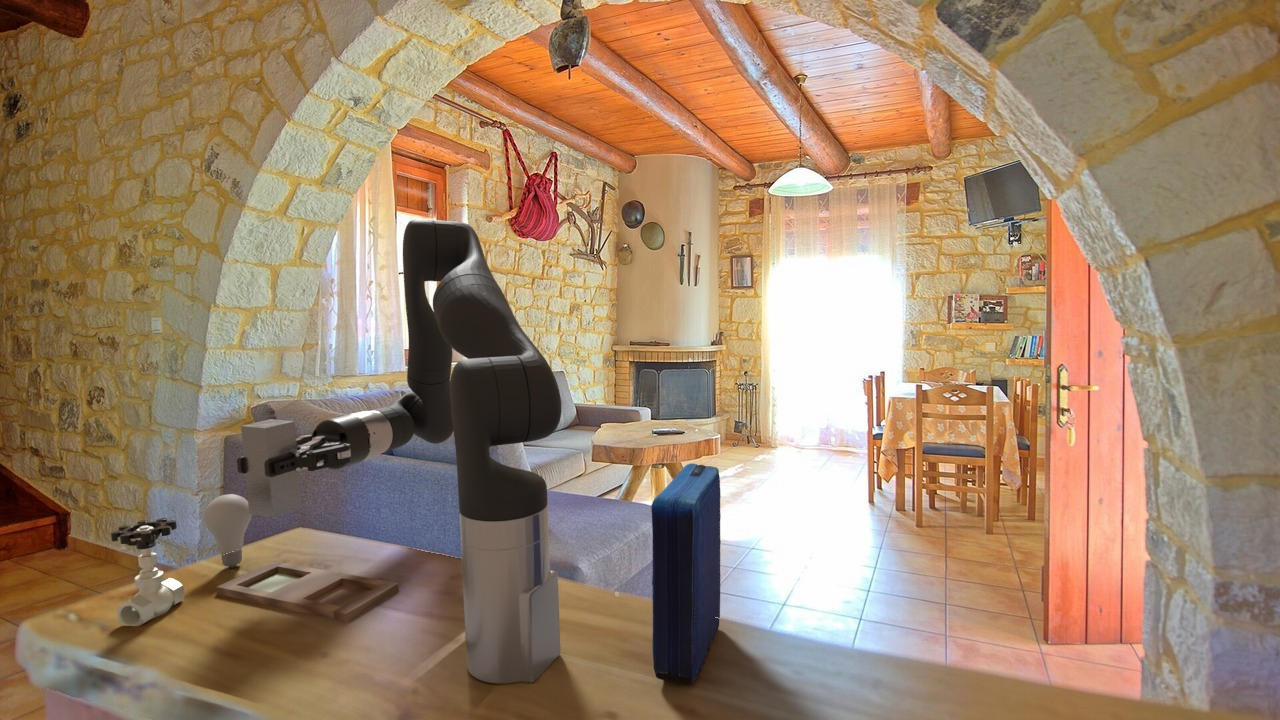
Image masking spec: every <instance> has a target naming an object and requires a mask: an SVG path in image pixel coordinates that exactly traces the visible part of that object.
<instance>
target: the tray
mask: <svg viewBox="0 0 1280 720" xmlns="http://www.w3.org/2000/svg"><path fill="white" fill-rule="evenodd" d="M399 586H400V585H399V582H393V581H388V580H382V579H376V578H371V577H365V576H360V575H354V574H349V573H342V572H337V571H332V570H326V569H321V568H315V567H309V566H303V565H298V564H293V563H287V562H283V561H277V560H275V561H272V562H270V563H267V564H265V565H263V566H261V567H259V568H256V569H254V570H252V571H249V572H247V573H245V574H242V575H240V576H238V577H236V578H233V579H231V580H228V581H226V582H224V583H222V584H219V585H217V586H216V595H219V596H223V597H227V598H233V599H237V600H243V601H246V602H250V603H251V602H252V603H256V604H261V605H263V606H264V605H265V606H271V607H274V608H279V609H284V610H288V611H293V612H298V613H301V614H307V615H311V616H315V617H321V618H326V619H329V620H334V621H341V622H344V623H348V622H349V621H351V620H352V619H354V618H356V617H359V616H360V615H361V614H363V613H364V612H366V611H368V610H369V609H371V608H373V607H374V606H376V605H378V604H379V603H381V602H383V601H384V600H386V599H388V598H389V597H391V596H393V595H394V594H397V593H398V592H399V591H400V589H399Z"/></svg>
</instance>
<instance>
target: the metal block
mask: <svg viewBox="0 0 1280 720" xmlns="http://www.w3.org/2000/svg"><path fill="white" fill-rule="evenodd" d="M240 431H241V432H240V433H241V443H242V454H243V456H244V463H245V484H246V495H247V501H248V507H249V514H250V515H252V516H257V517H262V518H270V519H275V518H278V517H281V516H283V515H286V514H289V513H292V512H294V511H297V510H299V509H302V508H303V502H302V501H303V499H302V490H301V489H302V488H301V487H302V486H301V478H300V476H301V475H300V471H294V470H293V471H290V472H287V473H284V474H280V475H277V476H274V477H267V476H266V475H265V467H264V463H265V461H266V460H269V459H273V458H276V457H280V456H283V455H287V454H292V456H293V452H295V451H297V440H296V439H297V429H296V421H295V420H287V419H285V420H284V419H283V420H282V419H273V418H272V419H267V420H261V421H257V422H253V423H248V424H243V425H241V426H240Z"/></svg>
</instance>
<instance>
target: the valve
mask: <svg viewBox="0 0 1280 720" xmlns="http://www.w3.org/2000/svg"><path fill="white" fill-rule="evenodd" d="M177 524H178V523H177V521H176V520H168V518H167V517H161V518H158V519H156V520H155V521H154V520H153V521H149V520H148V519H141V520H138V521H137V522H136V524H134V525H128V524H123V525H120V526H118V528H117V529H118V530H114V531H112V532H110V540H111V542H118V541H119V542H120V544H121V545H127V546H131V547H136V550H139V551H140V550H141V554H140V555H139V554H138V556H137V560H138V561H137V562H138V567H139V568H141V570H140V571H139V574H138V575H136V576H135V577H134V586H135V588H138V591H137V593H136V594H135V595H134V596H133V597H132V598H131V599H129V600H127V601H125V602H124V603H122V604H120V605H119V606H117V609H116V611H117V613H116V615H117V620H118V622H119V624H121V625H122V626H123V627H125V626H127V627H129V626H132V627H140V626H142V625H143V624H145V623H147V622H149V621H150V620H152V619H156V618H158V617H160V616H163V615H164V614H166V613H168V611H170V609H171V608H172V607H174V606H175V605H176V604H178V603H180V602H182V601H183V600H185V590H184V585H183V584H182V583H181V582H180V581H178V580H177V579H175V578H171V577H169V578H168V579H165V573H164V571H163V570H159V569H158V568H157V567H155V566H156V565H157V564H158V558H157V553H156V552H154V551H152V548H153V547H155V546H156V545H157V544H156V543H157V542H156V541H157V539H158V538H159V537H160V535H161V537H166V536H170V535H172V532H171V530H172V531H174V530H176V529H177V528H178V526H177ZM133 539H134V540H133Z"/></svg>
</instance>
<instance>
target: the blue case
mask: <svg viewBox="0 0 1280 720" xmlns="http://www.w3.org/2000/svg"><path fill="white" fill-rule="evenodd" d="M719 472H720V471H719V468H718V467H716V466H712V465H704V464H696V463H687V464H686V465H684V466H683V467H682V468H681V470H680V472H679V473H678V474H677V475H676V477H675V478H673V479H672V481H671V482H669V484H668V485H667V486H666V487H665V488H664V489H663V490H662V491H660V493H659V494H658V495H657V496H656V497H654V499H653V501H652V504H651V506H650V510H651V526H652V527H651V528H652V576H651V577H652V578H651V579H652V580H651V587H652V658H653V659H652V661H653V671H654V674H655V677H656V678H657V679H659V680H663V681H670V682H674V683H682V684H686V685H692V684H694V683H695V682H696V680H697V678H698V677H699V676H700V674H701V672H702V668H703V667H704V665H705V663H706V659H707V655H708V652H710V651H711V650H710V649H711V645H712V642H713V640H714V638H715V634H716V632H718V630H719V628H720V620H721V619H718V618H720V617H721V517H722V516H721V499H722V498H721V496H722V495H721V477H720V473H719ZM715 617H718V618H715Z"/></svg>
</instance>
